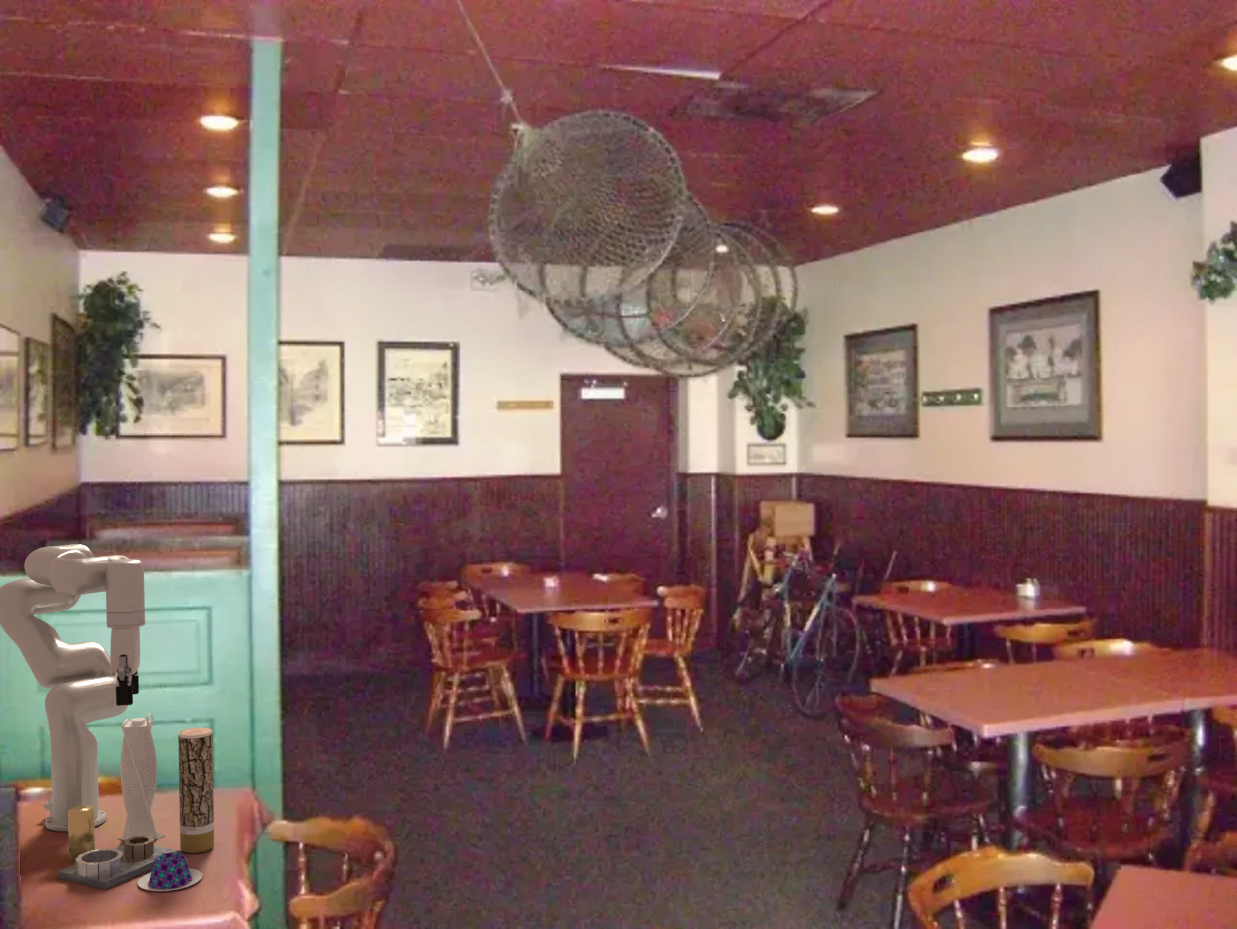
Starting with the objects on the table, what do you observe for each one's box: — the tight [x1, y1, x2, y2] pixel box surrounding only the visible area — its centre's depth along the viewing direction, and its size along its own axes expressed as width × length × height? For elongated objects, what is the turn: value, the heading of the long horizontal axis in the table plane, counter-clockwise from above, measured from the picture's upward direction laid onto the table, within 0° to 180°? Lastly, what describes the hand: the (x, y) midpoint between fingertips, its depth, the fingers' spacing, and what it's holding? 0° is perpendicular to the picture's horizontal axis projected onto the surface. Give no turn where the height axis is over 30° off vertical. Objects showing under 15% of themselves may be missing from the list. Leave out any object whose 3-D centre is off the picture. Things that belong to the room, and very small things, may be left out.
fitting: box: [67, 805, 96, 862], centre depth 263 cm, size 5×5×10 cm
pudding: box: [137, 852, 203, 892], centre depth 250 cm, size 12×12×5 cm
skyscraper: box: [117, 712, 166, 842], centre depth 273 cm, size 8×8×28 cm
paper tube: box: [177, 726, 215, 854], centre depth 267 cm, size 7×7×25 cm
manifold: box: [57, 836, 180, 891], centre depth 257 cm, size 13×19×4 cm
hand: (127, 699), depth 268 cm, fingers open, 9 cm apart
